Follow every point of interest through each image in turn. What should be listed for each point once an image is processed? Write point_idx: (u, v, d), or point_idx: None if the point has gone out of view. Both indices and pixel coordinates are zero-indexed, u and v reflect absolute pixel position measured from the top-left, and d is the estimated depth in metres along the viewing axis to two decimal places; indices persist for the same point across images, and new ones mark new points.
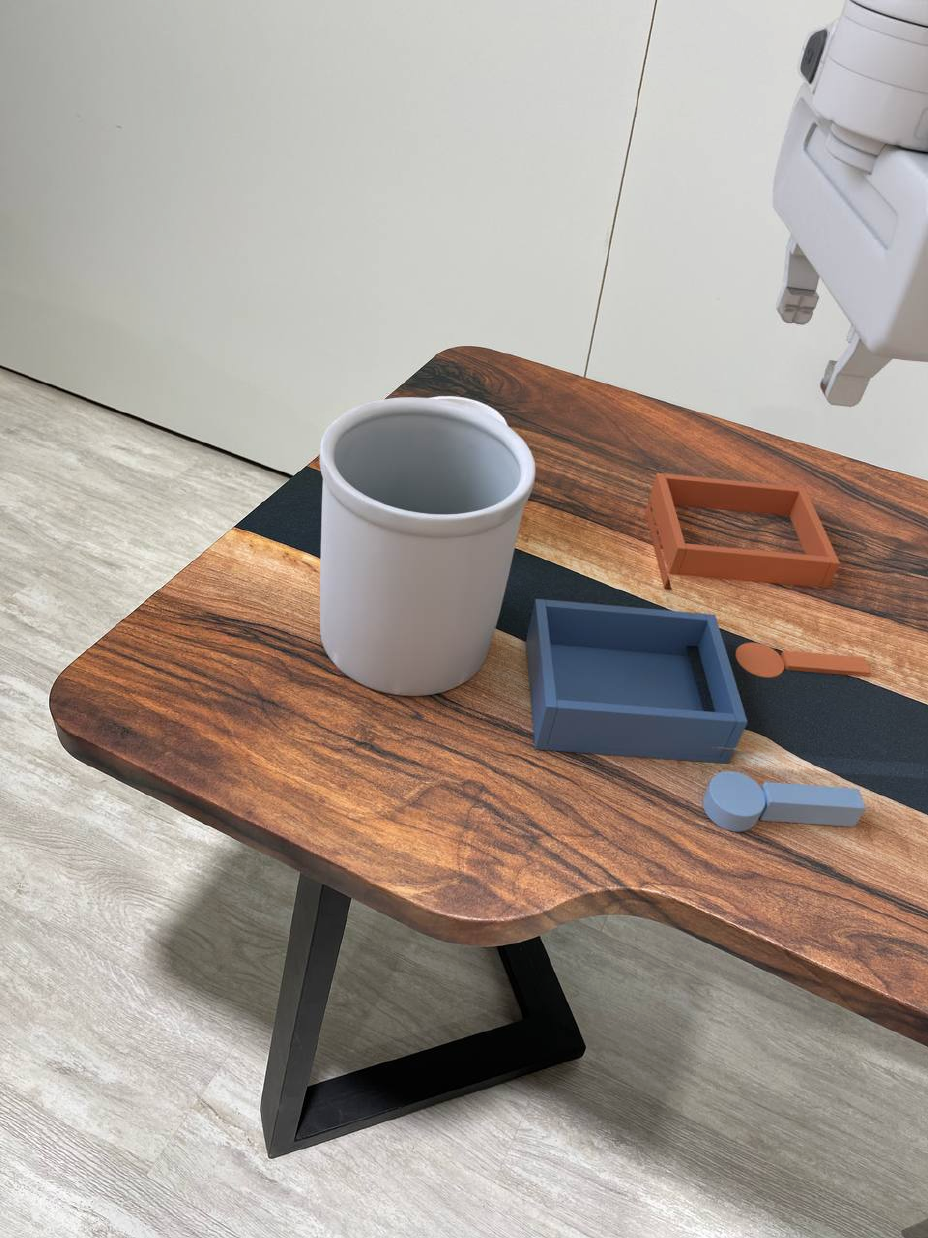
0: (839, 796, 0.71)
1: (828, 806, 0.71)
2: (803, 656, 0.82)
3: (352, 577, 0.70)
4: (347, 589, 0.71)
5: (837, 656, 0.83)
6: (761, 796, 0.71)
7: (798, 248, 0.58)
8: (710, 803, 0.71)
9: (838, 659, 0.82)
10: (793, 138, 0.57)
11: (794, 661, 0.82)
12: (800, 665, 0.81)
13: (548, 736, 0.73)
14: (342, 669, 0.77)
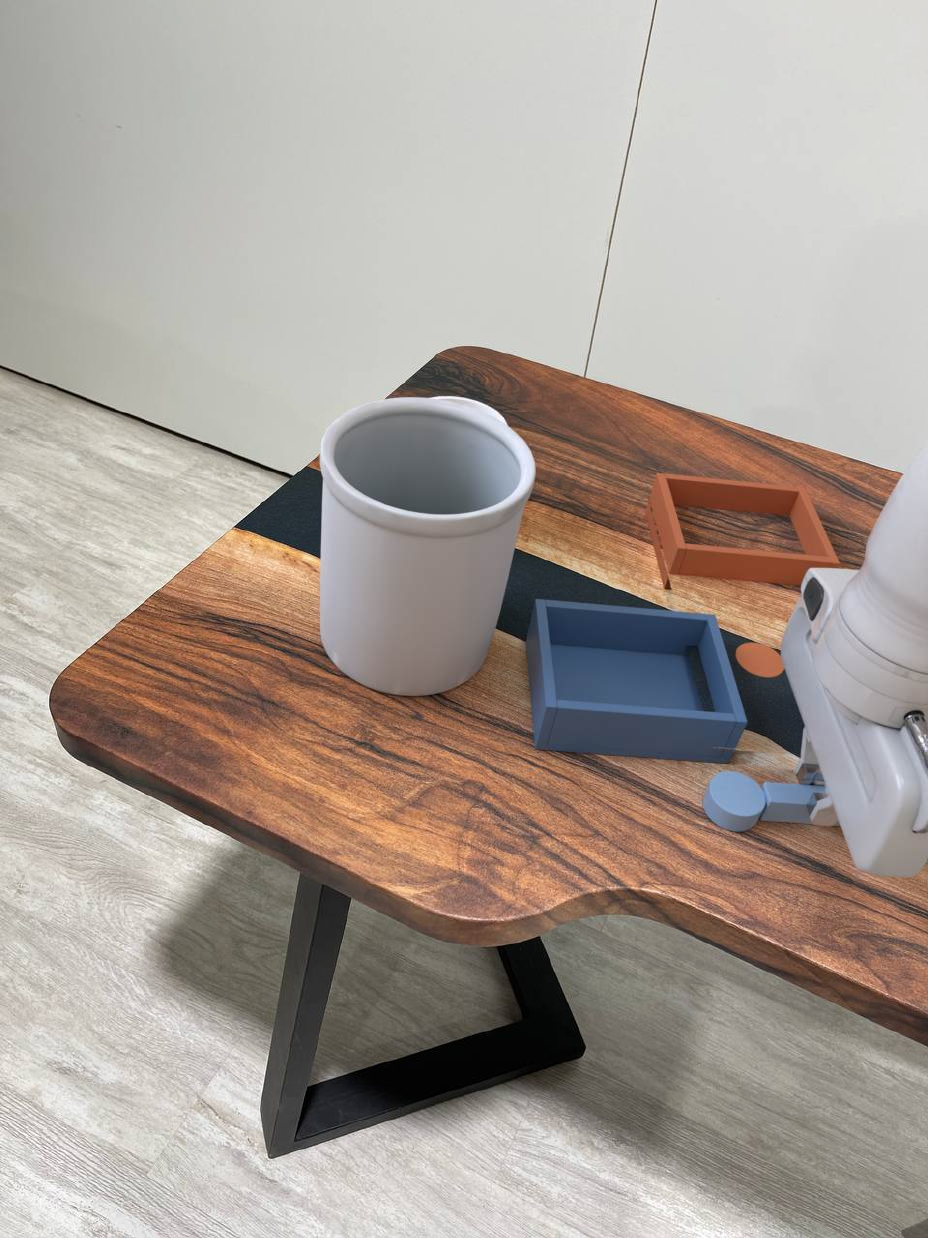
0: None
1: None
2: None
3: (352, 577, 0.70)
4: (347, 589, 0.71)
5: None
6: (761, 796, 0.71)
7: None
8: (710, 803, 0.71)
9: None
10: (797, 625, 0.72)
11: None
12: None
13: (548, 736, 0.73)
14: (342, 669, 0.77)
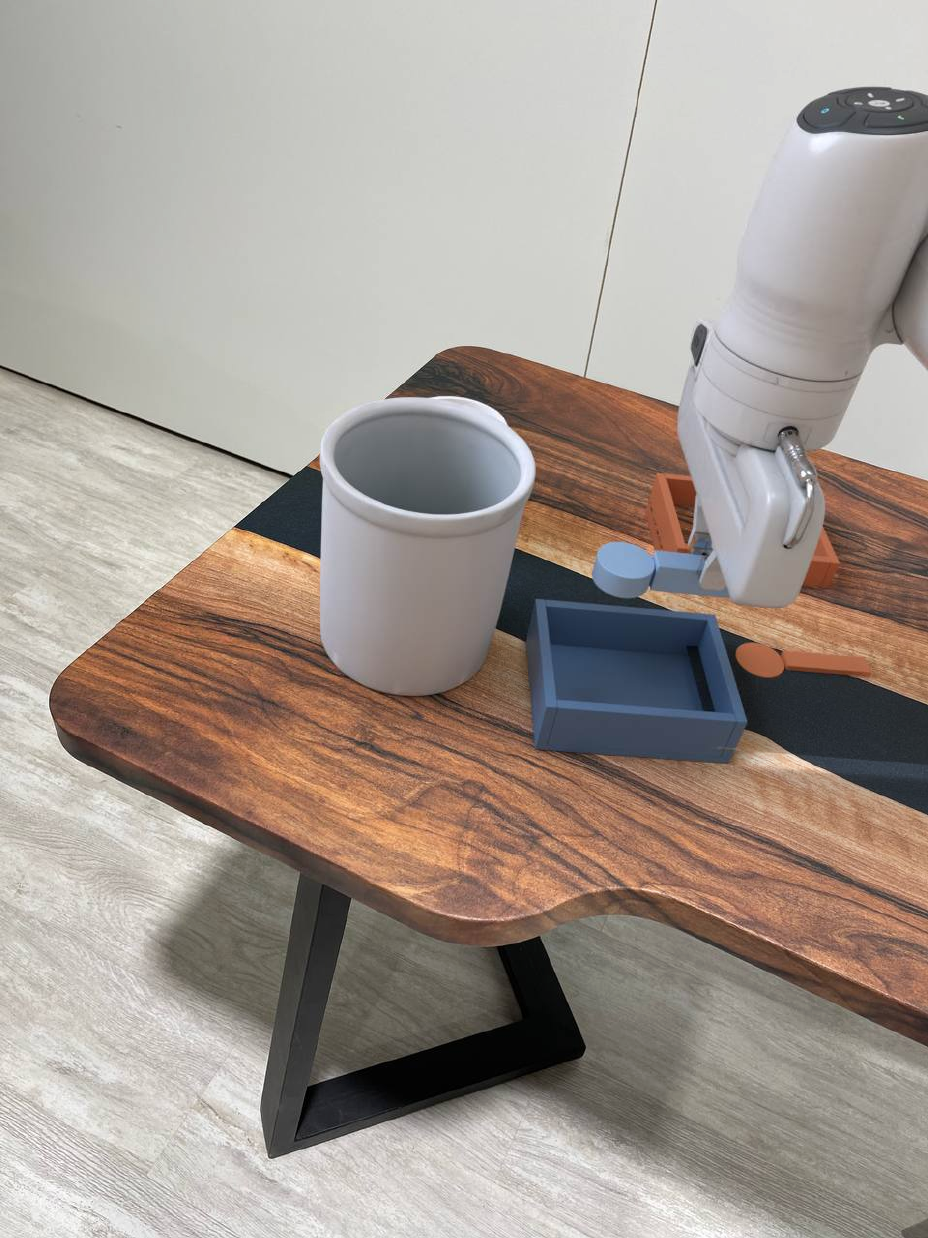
0: None
1: None
2: (803, 656, 0.82)
3: (352, 577, 0.70)
4: (347, 589, 0.71)
5: (837, 656, 0.83)
6: (650, 563, 0.69)
7: None
8: (597, 568, 0.69)
9: (838, 659, 0.82)
10: (690, 390, 0.70)
11: (794, 661, 0.82)
12: (800, 665, 0.81)
13: (548, 736, 0.73)
14: (342, 669, 0.77)
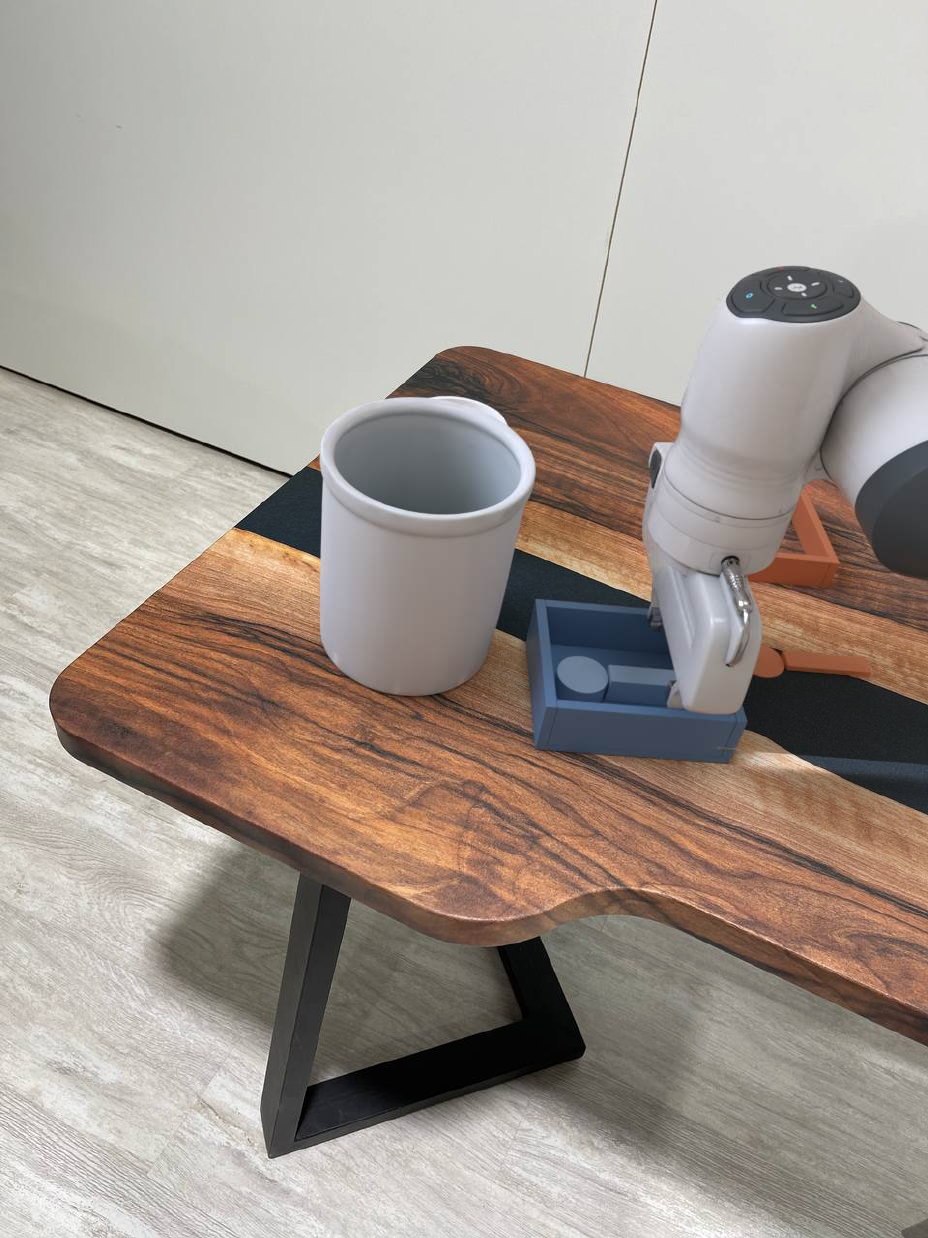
0: None
1: (665, 686, 0.77)
2: (803, 656, 0.82)
3: (352, 577, 0.70)
4: (347, 589, 0.71)
5: (837, 656, 0.83)
6: (604, 677, 0.77)
7: None
8: (557, 682, 0.77)
9: (838, 659, 0.82)
10: None
11: (794, 661, 0.82)
12: (800, 665, 0.81)
13: (548, 736, 0.73)
14: (342, 669, 0.77)
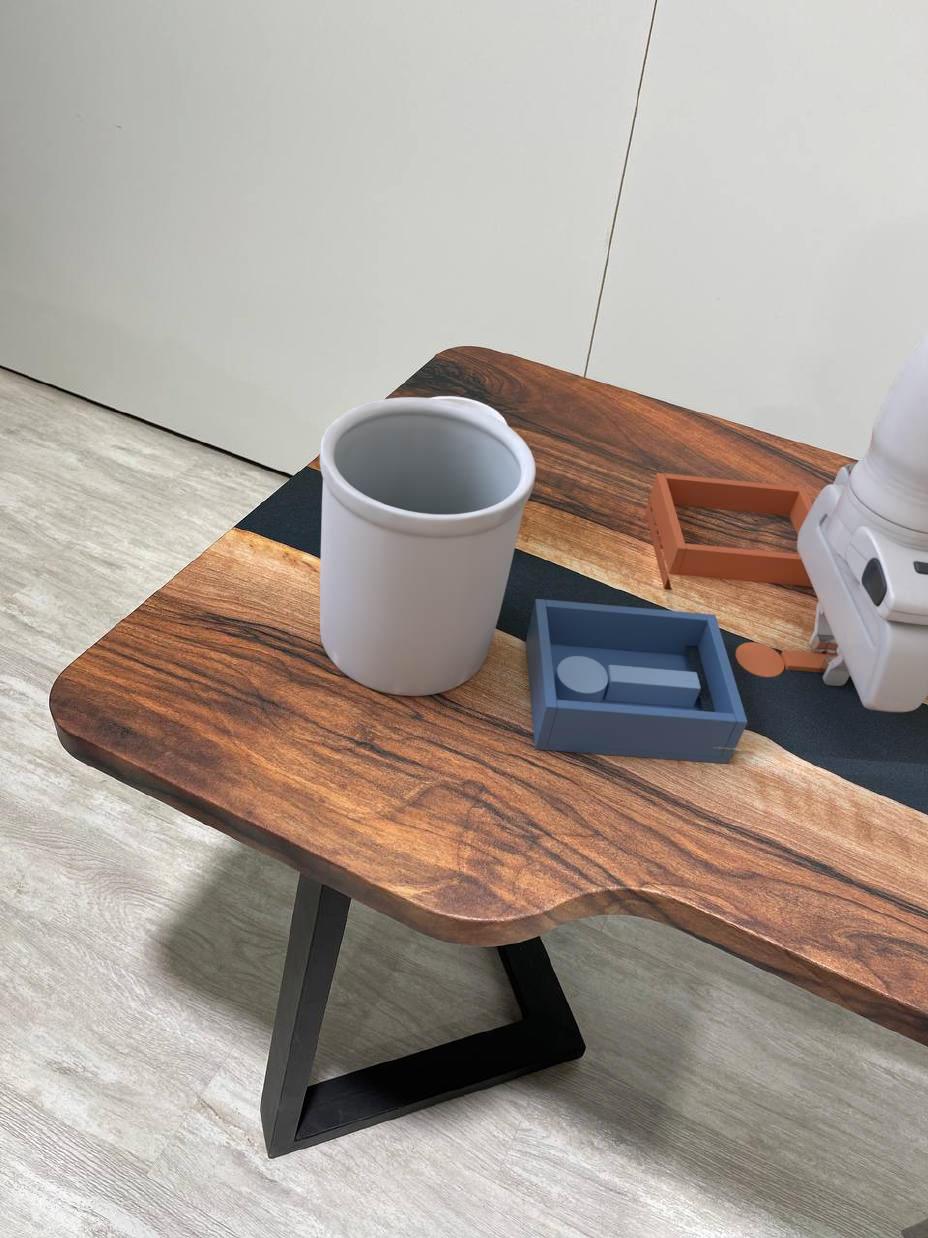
0: (677, 678, 0.77)
1: (665, 686, 0.77)
2: (803, 655, 0.82)
3: (352, 577, 0.70)
4: (347, 589, 0.71)
5: (837, 656, 0.83)
6: (604, 677, 0.77)
7: None
8: (557, 682, 0.77)
9: None
10: None
11: (794, 660, 0.82)
12: (800, 665, 0.81)
13: (548, 736, 0.73)
14: (342, 669, 0.77)
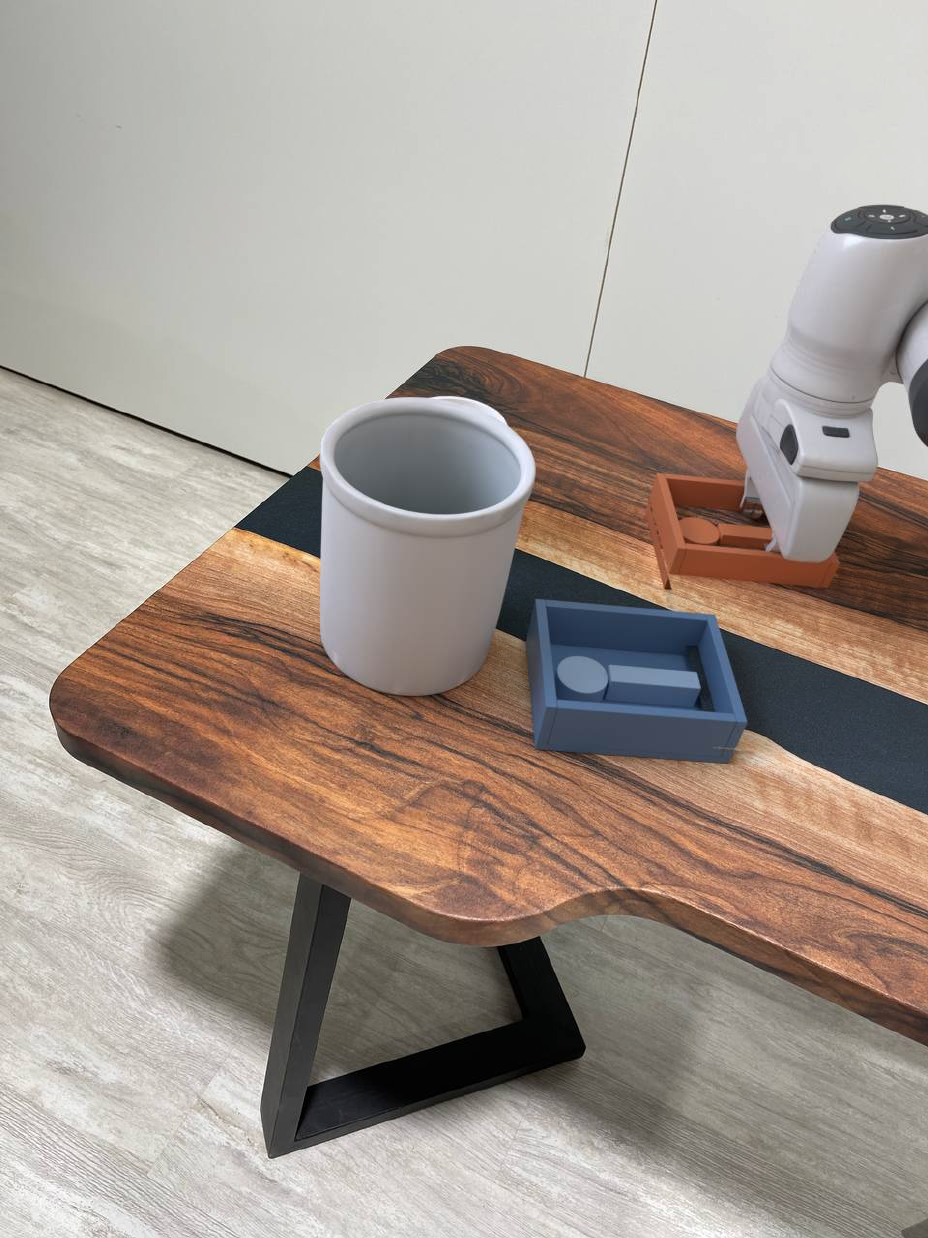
0: (677, 678, 0.77)
1: (665, 686, 0.77)
2: (736, 527, 0.94)
3: (352, 577, 0.70)
4: (347, 589, 0.71)
5: (767, 528, 0.94)
6: (604, 677, 0.77)
7: None
8: (557, 682, 0.77)
9: (768, 531, 0.94)
10: None
11: (728, 531, 0.93)
12: (733, 534, 0.93)
13: (548, 736, 0.73)
14: (342, 669, 0.77)
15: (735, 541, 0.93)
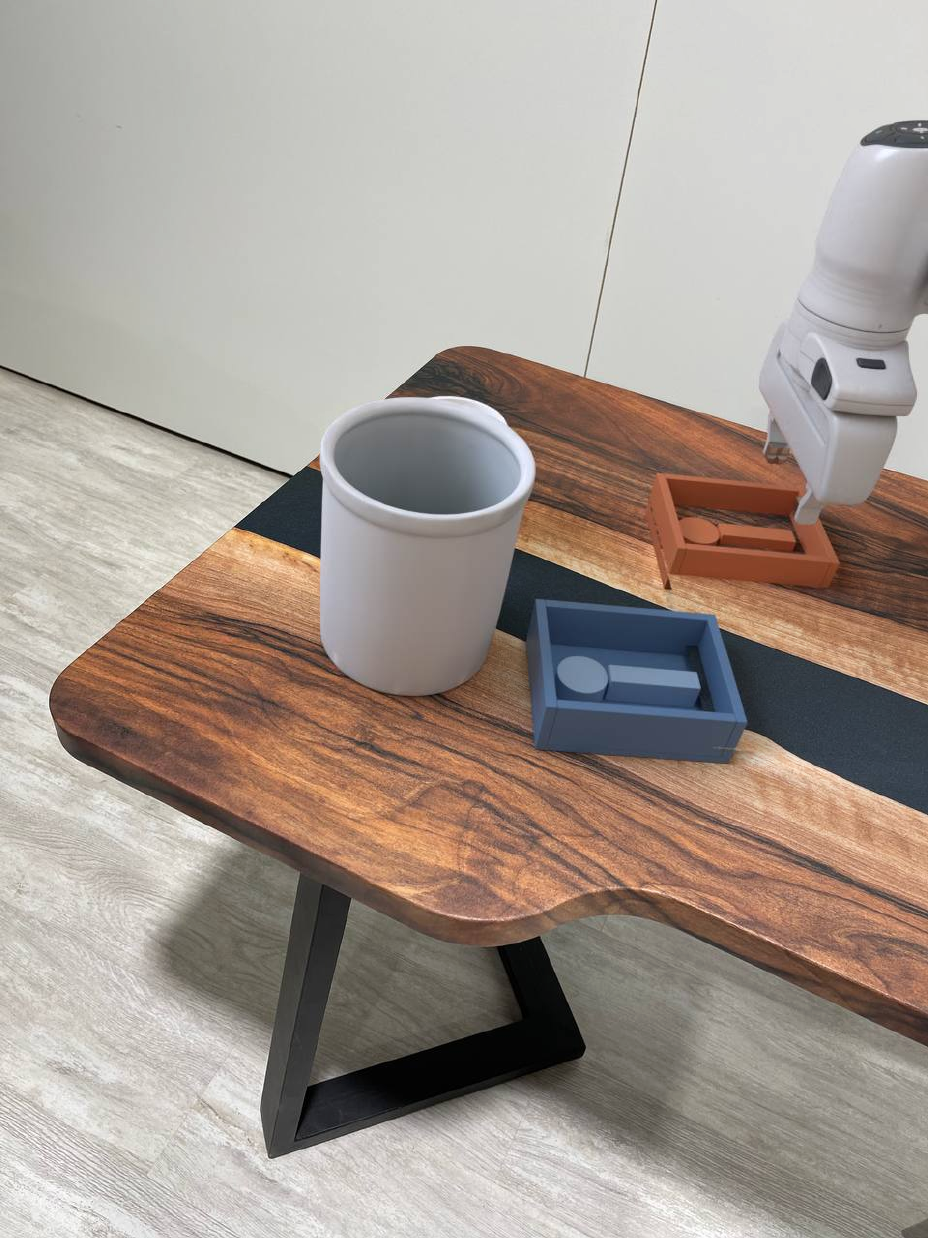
0: (677, 678, 0.77)
1: (665, 686, 0.77)
2: (736, 527, 0.94)
3: (352, 577, 0.70)
4: (347, 589, 0.71)
5: (767, 528, 0.94)
6: (604, 677, 0.77)
7: None
8: (557, 682, 0.77)
9: (768, 531, 0.94)
10: None
11: (728, 531, 0.93)
12: (733, 534, 0.93)
13: (548, 736, 0.73)
14: (342, 669, 0.77)
15: (735, 541, 0.93)
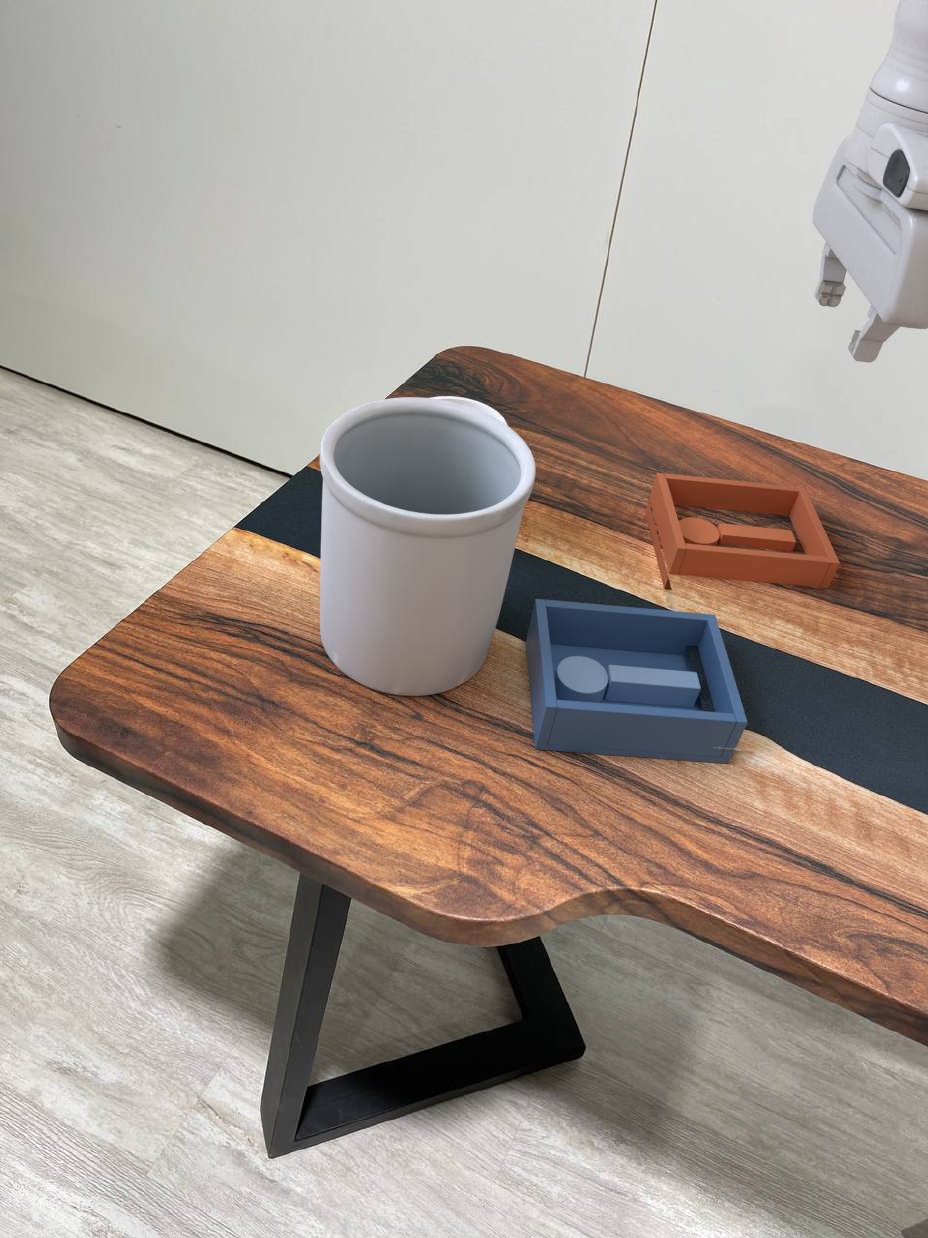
0: (677, 678, 0.77)
1: (665, 686, 0.77)
2: (736, 527, 0.94)
3: (352, 577, 0.70)
4: (347, 589, 0.71)
5: (767, 528, 0.94)
6: (604, 677, 0.77)
7: None
8: (557, 682, 0.77)
9: (768, 531, 0.94)
10: None
11: (728, 531, 0.93)
12: (733, 534, 0.93)
13: (548, 736, 0.73)
14: (342, 669, 0.77)
15: (735, 541, 0.93)
